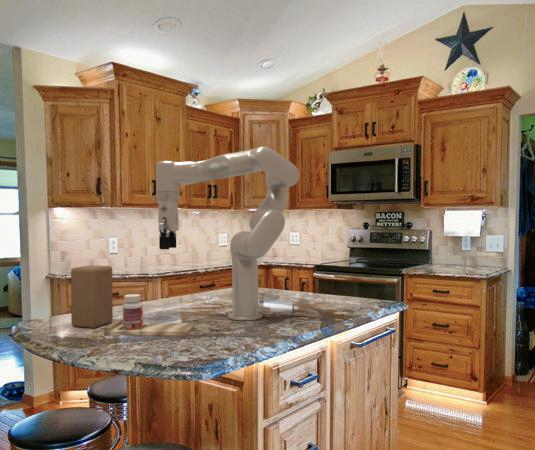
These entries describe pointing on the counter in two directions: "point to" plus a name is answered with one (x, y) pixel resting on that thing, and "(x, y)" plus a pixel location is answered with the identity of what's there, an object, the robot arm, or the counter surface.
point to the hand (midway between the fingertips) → (168, 248)
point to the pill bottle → (132, 312)
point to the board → (151, 329)
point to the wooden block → (91, 296)
